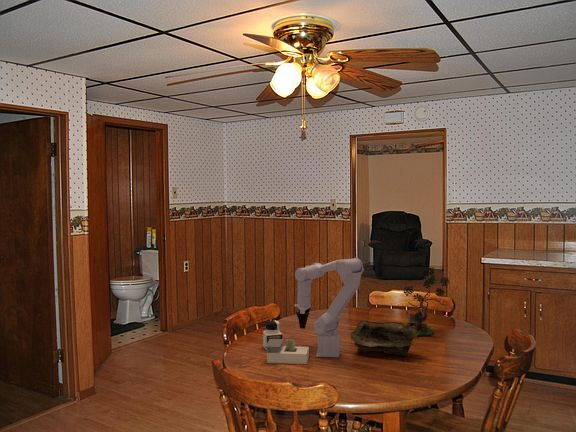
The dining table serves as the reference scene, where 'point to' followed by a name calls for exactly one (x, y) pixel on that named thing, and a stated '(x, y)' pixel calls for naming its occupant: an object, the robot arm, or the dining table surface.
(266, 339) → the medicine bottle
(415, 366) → the dining table surface
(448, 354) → the dining table surface
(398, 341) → the dark green planter
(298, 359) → the socket board
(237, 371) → the dining table surface
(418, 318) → the bonsai tree
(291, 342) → the dowel
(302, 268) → the robot arm
